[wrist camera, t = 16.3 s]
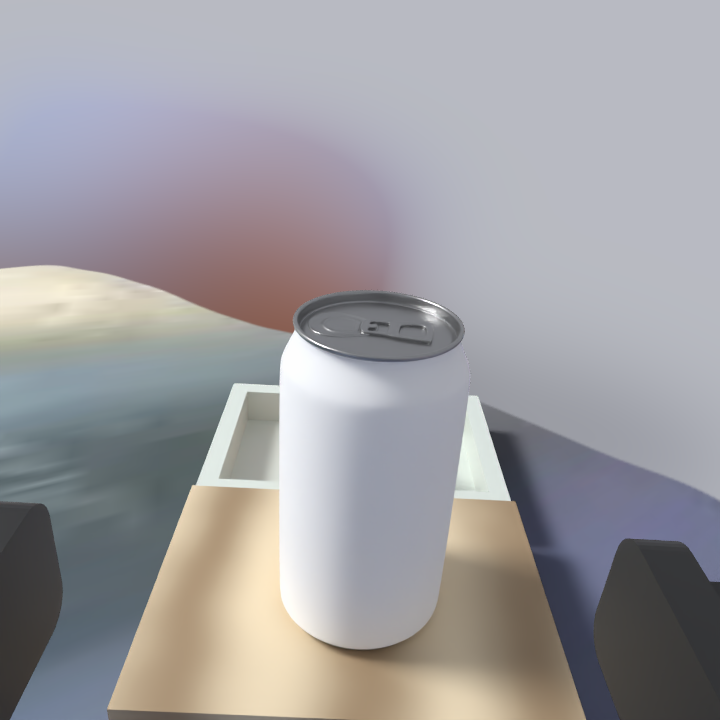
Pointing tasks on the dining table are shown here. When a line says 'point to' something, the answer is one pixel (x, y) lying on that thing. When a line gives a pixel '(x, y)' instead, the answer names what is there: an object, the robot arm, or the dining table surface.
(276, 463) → the tray
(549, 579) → the dining table surface
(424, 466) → the can
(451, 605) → the board
